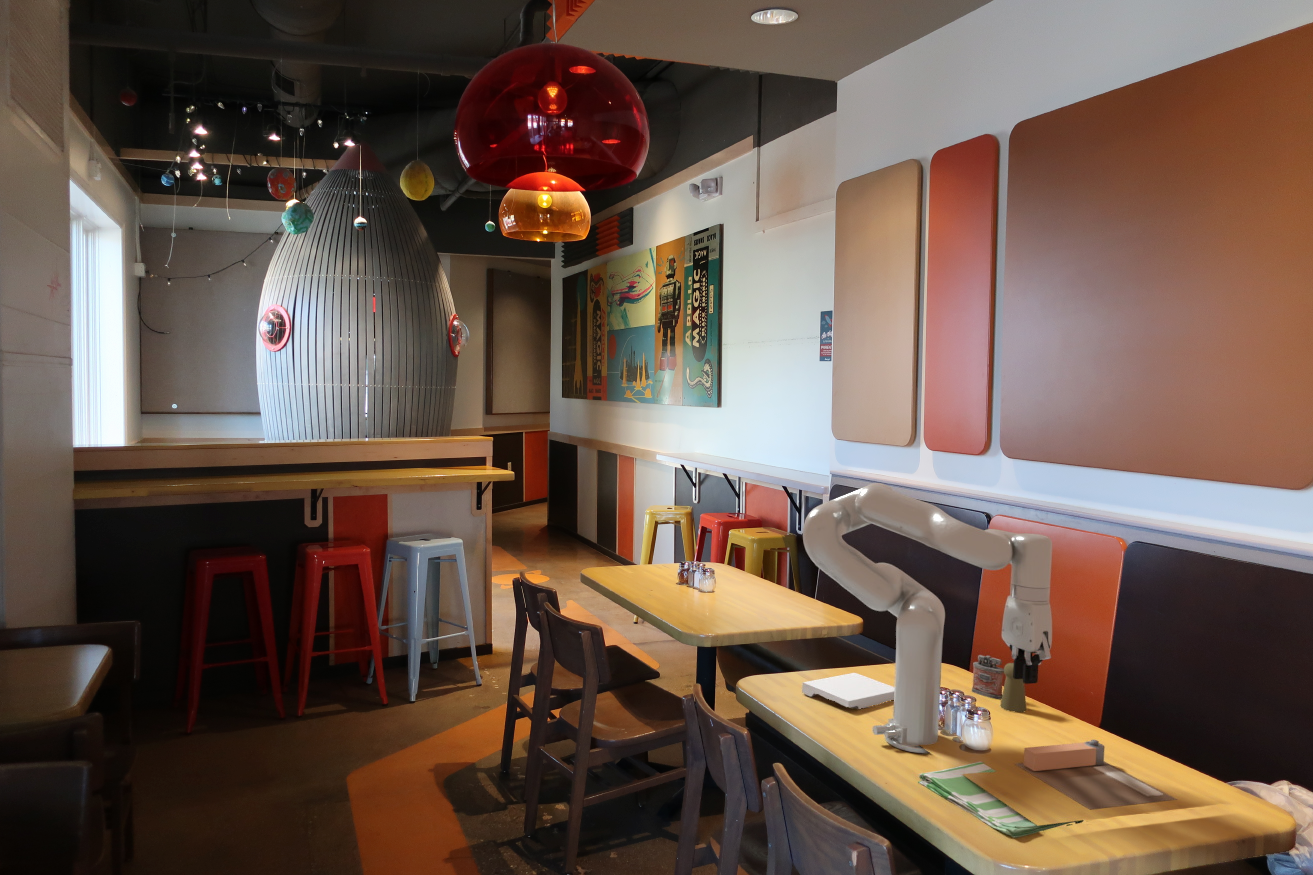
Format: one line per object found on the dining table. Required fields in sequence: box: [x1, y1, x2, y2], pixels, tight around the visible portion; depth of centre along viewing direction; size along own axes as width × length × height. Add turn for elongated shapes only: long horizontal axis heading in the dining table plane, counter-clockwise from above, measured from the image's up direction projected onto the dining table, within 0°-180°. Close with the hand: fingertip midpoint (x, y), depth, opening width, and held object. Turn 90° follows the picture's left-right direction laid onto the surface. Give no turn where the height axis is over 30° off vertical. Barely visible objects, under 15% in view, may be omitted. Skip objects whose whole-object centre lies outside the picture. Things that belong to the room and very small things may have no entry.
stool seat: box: [1014, 760, 1178, 811], centre depth 164 cm, size 20×20×2 cm
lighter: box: [971, 654, 1005, 700], centre depth 219 cm, size 8×3×10 cm, turn 40°
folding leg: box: [1023, 739, 1105, 771], centre depth 171 cm, size 18×4×4 cm, turn 106°
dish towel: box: [917, 761, 1085, 839], centre depth 157 cm, size 18×23×3 cm
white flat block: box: [801, 672, 895, 710], centre depth 213 cm, size 15×3×20 cm
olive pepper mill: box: [999, 662, 1027, 713], centre depth 209 cm, size 6×6×11 cm
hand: (1025, 679), depth 176 cm, fingers closed
